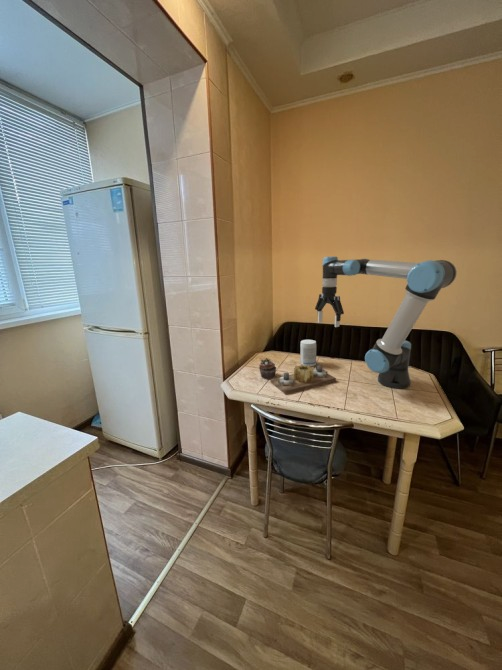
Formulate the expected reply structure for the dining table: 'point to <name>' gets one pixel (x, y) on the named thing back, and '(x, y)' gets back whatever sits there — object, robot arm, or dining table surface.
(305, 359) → the supplement tub
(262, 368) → the cupcake
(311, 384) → the gear board
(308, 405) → the dining table surface
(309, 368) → the brass gear
